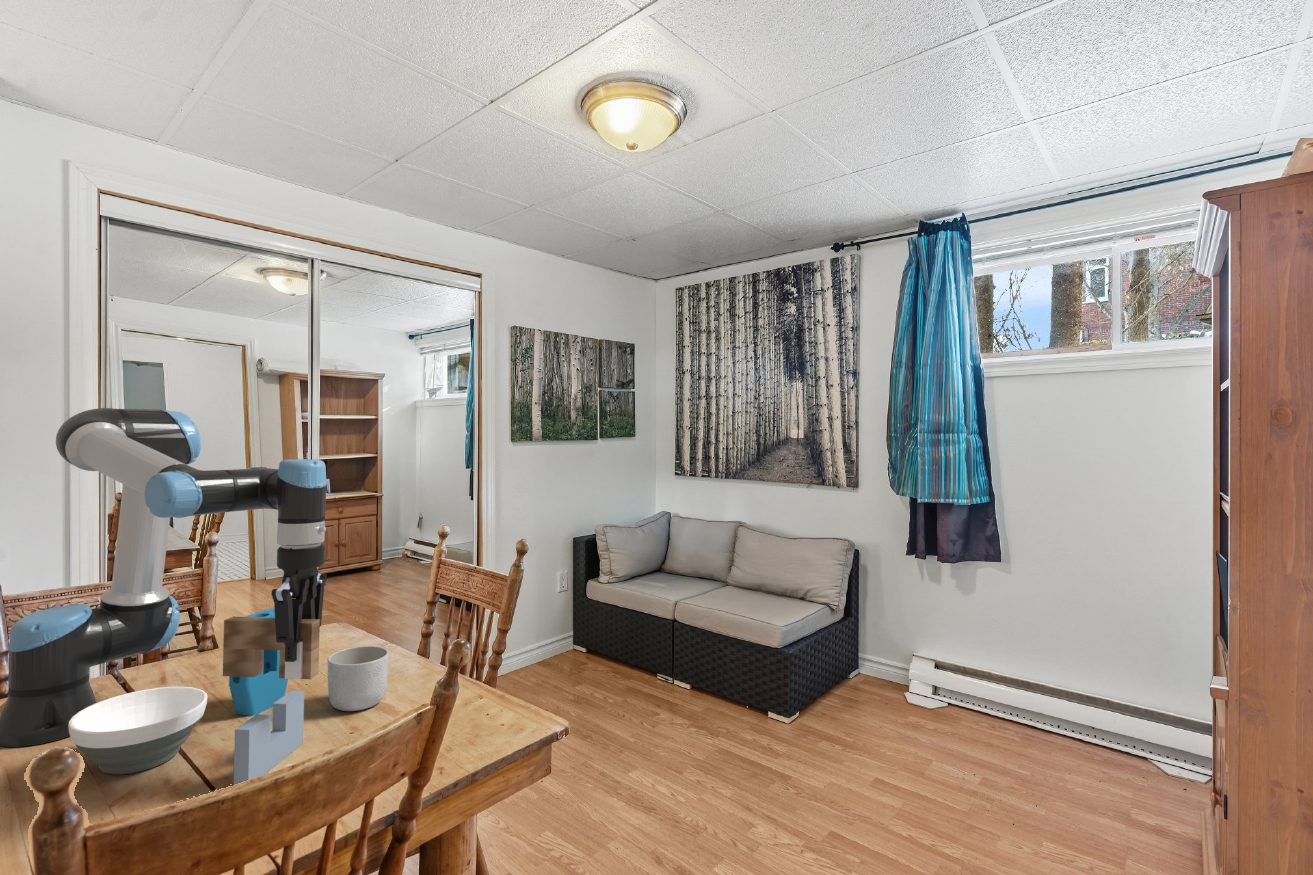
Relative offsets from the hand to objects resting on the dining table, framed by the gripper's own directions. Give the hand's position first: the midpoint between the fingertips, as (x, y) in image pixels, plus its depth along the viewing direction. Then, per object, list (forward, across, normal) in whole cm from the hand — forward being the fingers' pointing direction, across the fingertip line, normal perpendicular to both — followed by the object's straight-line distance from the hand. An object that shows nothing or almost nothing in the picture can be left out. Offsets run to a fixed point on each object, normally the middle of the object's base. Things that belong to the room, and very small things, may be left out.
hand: (298, 674), depth 114 cm
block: (+17, +23, +22) cm, 36 cm away
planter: (+17, +26, +2) cm, 31 cm away
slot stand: (+17, 0, +5) cm, 17 cm away
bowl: (+17, 0, +29) cm, 33 cm away
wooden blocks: (0, 0, +5) cm, 5 cm away
